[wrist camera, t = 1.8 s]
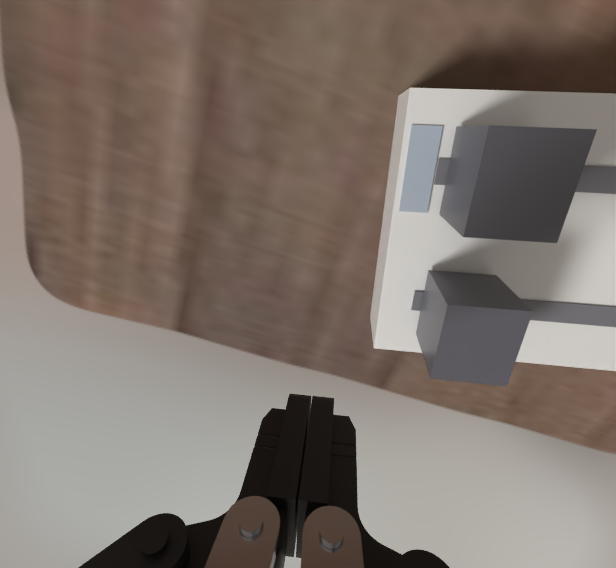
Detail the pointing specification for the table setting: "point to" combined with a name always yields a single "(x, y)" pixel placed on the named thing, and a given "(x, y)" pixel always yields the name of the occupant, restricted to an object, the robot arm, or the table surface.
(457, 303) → the outer tab
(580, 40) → the table surface
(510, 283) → the switch panel
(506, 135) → the inner tab
